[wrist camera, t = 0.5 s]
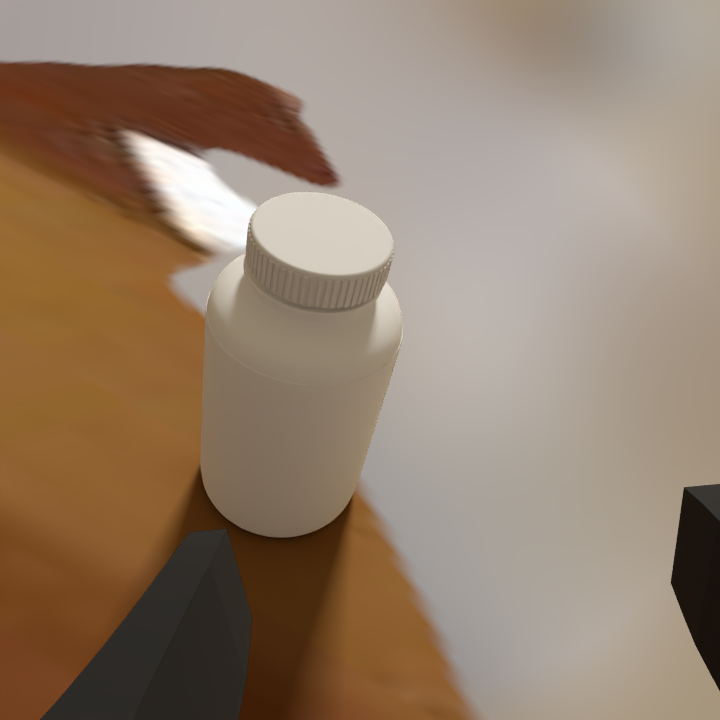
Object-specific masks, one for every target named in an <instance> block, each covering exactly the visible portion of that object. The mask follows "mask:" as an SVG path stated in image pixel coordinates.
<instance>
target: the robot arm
mask: <svg viewBox="0 0 720 720" xmlns="http://www.w3.org/2000/svg"><path fill="white" fill-rule="evenodd" d="M671 584H672V587H673V589H674V592H675V595H676V598H677V600H678V603H679V605H680V608H681V611H682V613H683V616H684V618H685V621H686V623H687V626H688V628H689V630H690V633H691V635H692V638H693V640H694V643H695V645H696V647H697V649H698V651H699V653H700V655H701V656H702V659H703V661H704V662H705V664H706V666H707V668H708V670H709V672H710V674H711V676H712V677H713V679H714V681H715V683H716V685H717V687H718V689H719V690H720V484H715V485H704V486H693V487H684V491H683V499H682V506H681V513H680V520H679V528H678V535H677V543H676V549H675V556H674V564H673V571H672V578H671ZM251 624H252V615H251V612H250V608H249V605H248V601H247V598H246V594H245V591H244V587H243V584H242V580H241V576H240V573H239V569H238V566H237V562H236V559H235V555H234V552H233V548H232V545H231V541H230V538H229V534H228V531H227V529H219V530H208V531H197V532H190V533H189V534H188V535H187V536H186V538H185V539H184V540H183V541H182V543H181V544H180V545H179V547H178V548H177V549H176V551H175V552H174V554H173V555H172V556H171V558H170V559H169V560H168V562H167V563H166V564H165V566H164V567H163V569H162V570H161V571H160V573H159V574H158V575H157V577H156V578H155V579H154V581H153V582H152V583H151V585H150V586H149V587H148V589H147V590H146V592H145V593H144V594H143V596H142V597H141V598H140V600H139V601H138V602H137V604H136V605H135V606H134V607H133V609H132V610H131V611H130V613H129V614H128V615H127V616H126V618H125V619H124V620H123V622H122V623H121V624H120V625H119V627H118V628H117V629H116V630H115V632H114V633H113V634H112V636H111V637H110V638H109V639H108V641H107V642H106V643H105V645H104V646H103V647H102V648H101V649H100V651H99V652H98V653H97V654H96V656H95V657H94V658H93V659H92V660H91V661H90V663H89V664H88V665H87V666H86V667H85V669H84V670H83V671H82V672H81V673H80V674H79V676H78V677H77V678H76V679H75V680H74V681H73V683H72V684H71V685H70V686H69V687H68V689H67V690H66V691H65V692H64V693H63V694H62V696H61V697H60V698H59V699H58V700H57V701H56V702H55V704H54V705H53V706H52V707H51V708H50V709H49V710H48V711H47V712H46V714H45V715H44V716H43V717H42V718H41V719H40V720H238V718H239V713H240V709H241V704H242V699H243V694H244V689H245V684H246V677H247V668H248V658H249V648H250V636H251Z"/></svg>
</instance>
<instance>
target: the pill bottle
mask: <svg viewBox="0 0 720 720" xmlns="http://www.w3.org/2000/svg"><path fill="white" fill-rule="evenodd" d="M393 255H394V243H393V239H392V237H391V234H390V232H389V230H388V228H387V227H386V225H385V224H384V223H383V222H382V221H381V220H380V219H379V218H378V217H377V216H376V215H374V214H373V213H372V212H370V211H369V210H368V209H366V208H364V207H363V206H361V205H359V204H356V203H355V202H352V201H350V200H347V199H344V198H341V197H338V196H334V195H330V194H324V193H315V192H296V193H288V194H284V195H280V196H277V197H274V198H272V199H270V200H268V201H266V202H265V203H263V204H262V205H261V206H259V207H258V209H257V210H256V211H255V212H254V213H253V214H252V217H251V218H250V221H249V225H248V234H247V245H246V253H245V254H243V255H241V256H239V257H238V258H236V259H235V260H234V261H232V262H231V263H230V264H229V265H228V266H227V267H226V268H225V269H224V270H223V271H222V272H221V273H220V275H219V276H218V278H217V279H216V281H215V283H214V285H213V287H212V289H211V291H210V293H209V296H208V299H207V304H206V312H205V337H204V367H203V398H202V428H201V458H200V466H201V473H202V480H203V484H204V487H205V490H206V492H207V495H208V497H209V498H210V500H211V502H212V503H213V505H214V506H215V507H216V509H217V510H218V511H219V512H220V513H221V514H222V515H223V516H224V517H225V518H227V519H228V520H229V521H231V522H232V523H234V524H235V525H237V526H238V527H240V528H242V529H244V530H247V531H249V532H252V533H255V534H258V535H263V536H268V537H280V538H283V537H295V536H300V535H304V534H308V533H311V532H314V531H316V530H318V529H320V528H322V527H324V526H326V525H327V524H329V523H330V522H331V521H333V520H334V519H335V518H336V517H337V516H338V515H339V514H340V513H341V512H342V511H343V510H344V508H345V507H346V506H347V504H348V503H349V501H350V499H351V497H352V495H353V493H354V491H355V489H356V486H357V483H358V480H359V477H360V473H361V470H362V467H363V464H364V461H365V458H366V454H367V451H368V448H369V445H370V442H371V438H372V435H373V432H374V429H375V426H376V423H377V419H378V416H379V413H380V410H381V407H382V403H383V400H384V397H385V394H386V391H387V388H388V385H389V381H390V378H391V375H392V372H393V368H394V366H395V362H396V359H397V356H398V353H399V349H400V346H401V341H402V336H403V323H402V314H401V309H400V306H399V303H398V300H397V298H396V296H395V294H394V292H393V290H392V289H391V287H390V286H389V284H388V283H387V282H386V280H387V277H388V273H389V270H390V266H391V262H392V259H393Z"/></svg>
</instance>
